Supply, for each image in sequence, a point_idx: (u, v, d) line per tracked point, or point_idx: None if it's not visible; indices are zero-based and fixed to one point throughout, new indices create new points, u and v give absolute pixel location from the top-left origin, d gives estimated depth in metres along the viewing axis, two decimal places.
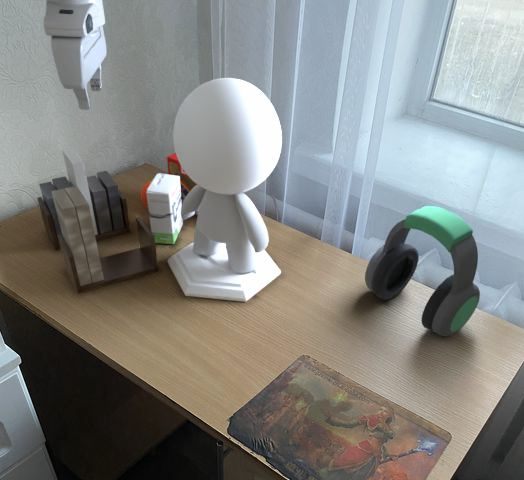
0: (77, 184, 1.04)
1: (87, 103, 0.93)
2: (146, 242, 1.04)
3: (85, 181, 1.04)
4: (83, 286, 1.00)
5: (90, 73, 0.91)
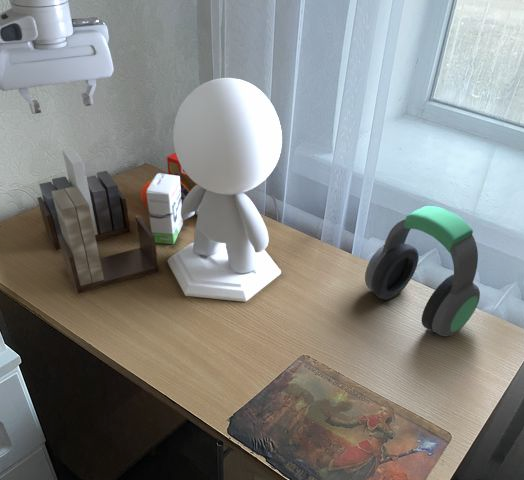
0: (77, 184, 1.04)
1: (31, 108, 0.94)
2: (146, 242, 1.04)
3: (85, 181, 1.04)
4: (83, 286, 1.00)
5: (31, 81, 0.91)
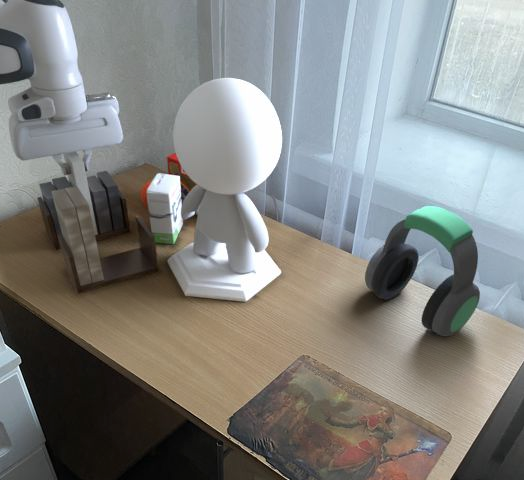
0: (77, 184, 1.04)
1: (62, 170, 1.04)
2: (146, 242, 1.04)
3: (85, 181, 1.04)
4: (83, 286, 1.00)
5: (48, 151, 0.99)
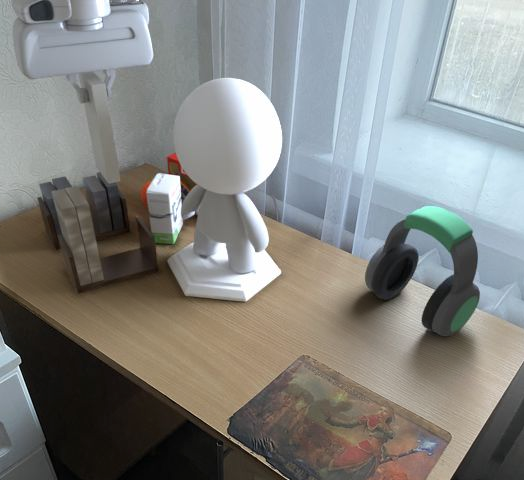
0: (97, 113, 0.84)
1: (79, 96, 0.84)
2: (146, 242, 1.04)
3: (107, 110, 0.85)
4: (83, 286, 1.00)
5: (61, 68, 0.79)
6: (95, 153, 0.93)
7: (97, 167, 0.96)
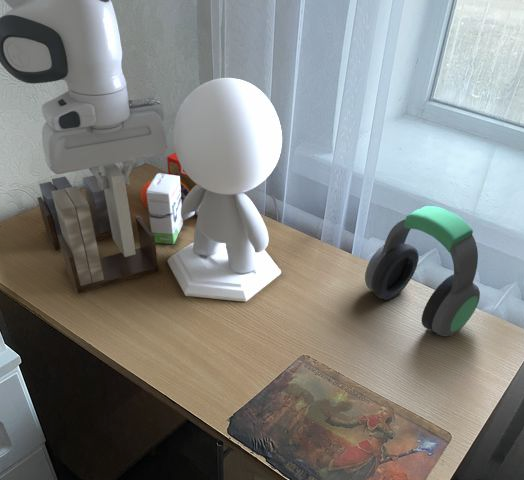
0: (116, 200, 0.93)
1: (100, 184, 0.92)
2: (146, 242, 1.04)
3: (125, 196, 0.93)
4: (83, 286, 1.00)
5: (85, 163, 0.88)
6: (112, 228, 1.02)
7: (114, 239, 1.04)
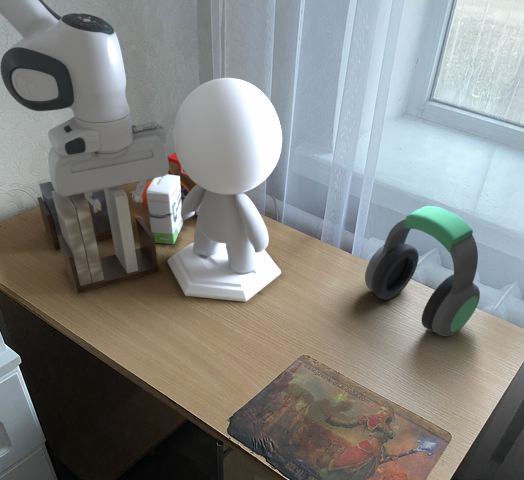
0: (119, 219, 0.95)
1: (92, 208, 0.95)
2: (146, 242, 1.04)
3: (128, 216, 0.96)
4: (83, 286, 1.00)
5: (90, 186, 0.91)
6: (115, 245, 1.05)
7: (116, 255, 1.07)
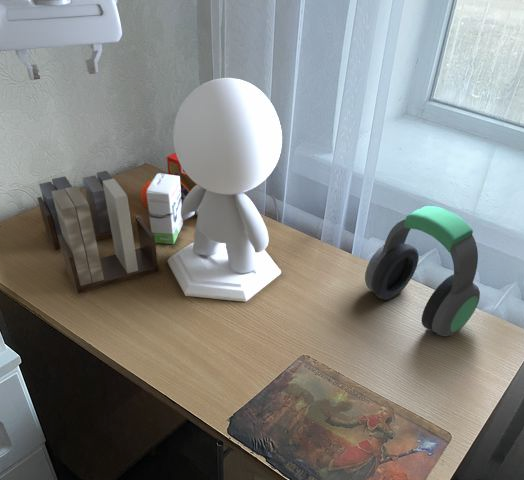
0: (119, 219, 0.95)
1: (29, 73, 0.85)
2: (146, 242, 1.04)
3: (128, 216, 0.96)
4: (83, 286, 1.00)
5: (30, 42, 0.81)
6: (115, 245, 1.05)
7: (116, 255, 1.07)
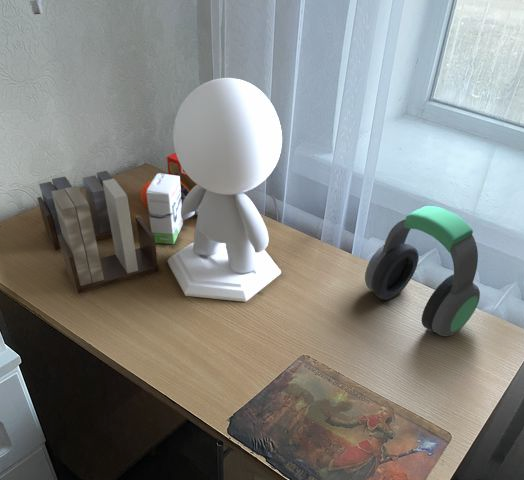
0: (119, 219, 0.95)
1: None
2: (146, 242, 1.04)
3: (128, 216, 0.96)
4: (83, 286, 1.00)
5: None
6: (115, 245, 1.05)
7: (116, 255, 1.07)
